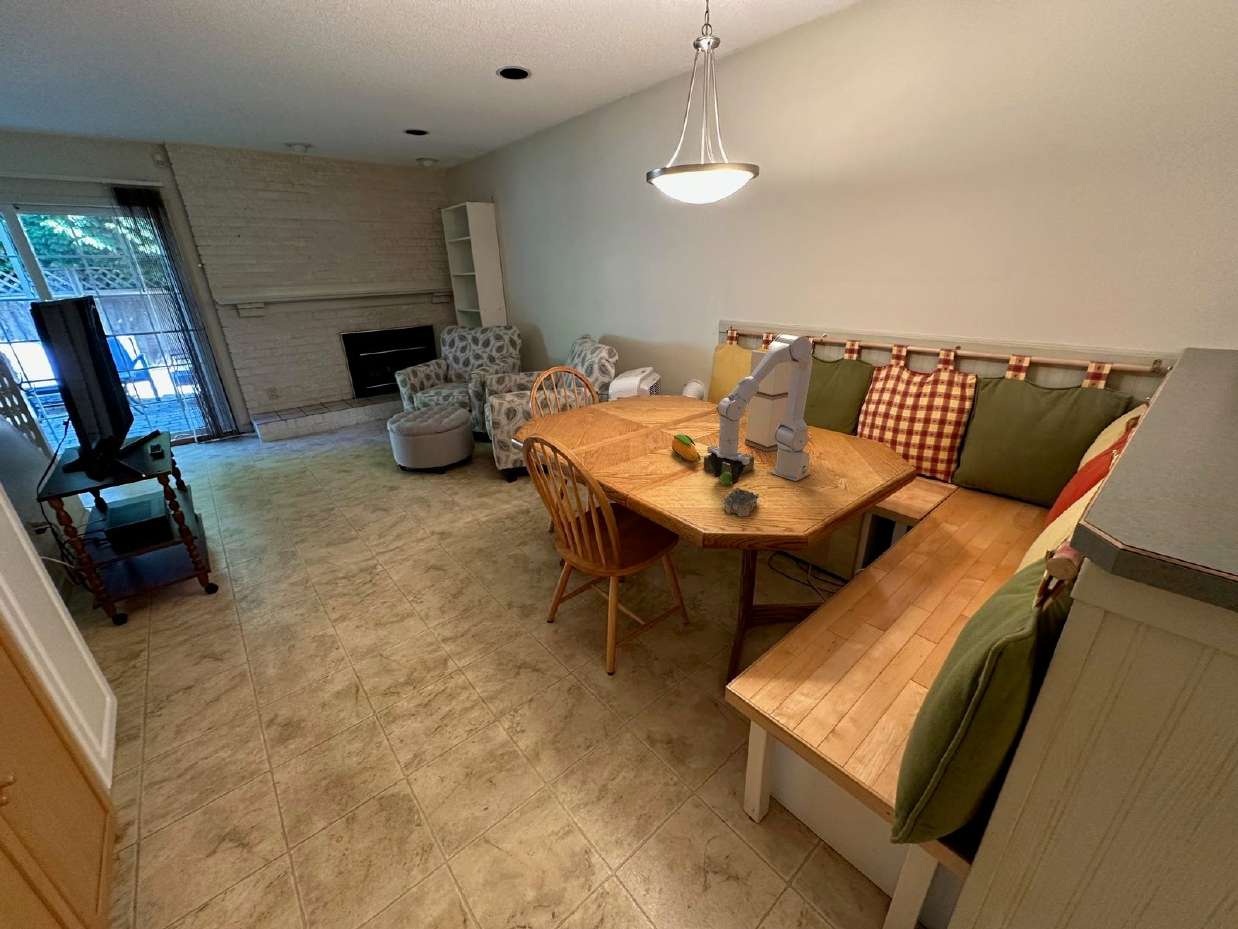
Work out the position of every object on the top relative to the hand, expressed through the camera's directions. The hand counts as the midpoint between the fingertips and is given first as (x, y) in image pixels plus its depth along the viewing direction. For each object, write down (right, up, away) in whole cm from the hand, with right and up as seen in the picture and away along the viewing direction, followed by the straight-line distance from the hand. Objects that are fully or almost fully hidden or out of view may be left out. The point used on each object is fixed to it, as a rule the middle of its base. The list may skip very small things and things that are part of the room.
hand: (726, 479), depth 148 cm
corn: (-9, +7, +23) cm, 25 cm away
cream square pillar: (+23, +12, +33) cm, 42 cm away
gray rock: (+1, -8, -15) cm, 16 cm away
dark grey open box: (+3, +3, +11) cm, 12 cm away
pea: (0, -1, +1) cm, 1 cm away
